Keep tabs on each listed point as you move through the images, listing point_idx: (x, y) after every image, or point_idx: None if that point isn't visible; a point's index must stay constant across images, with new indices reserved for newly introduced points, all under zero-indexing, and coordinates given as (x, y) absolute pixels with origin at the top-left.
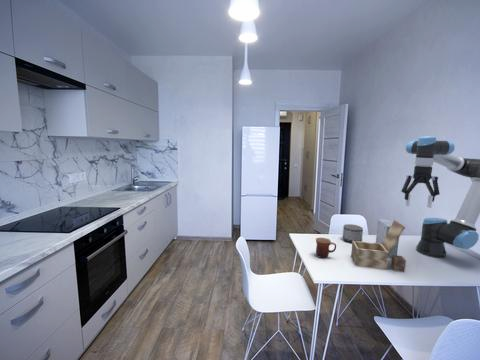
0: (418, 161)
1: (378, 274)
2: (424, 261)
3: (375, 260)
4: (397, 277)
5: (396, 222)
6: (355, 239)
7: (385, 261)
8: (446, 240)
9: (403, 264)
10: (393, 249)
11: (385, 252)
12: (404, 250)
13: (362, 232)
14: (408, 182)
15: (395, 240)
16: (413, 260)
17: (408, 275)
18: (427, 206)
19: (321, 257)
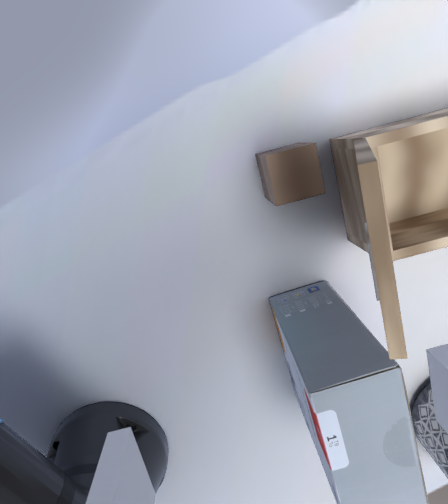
0: None
1: (373, 57)
2: (151, 330)
3: (400, 123)
4: (293, 73)
5: (398, 302)
6: None
7: (353, 136)
8: (30, 447)
9: (268, 153)
10: (297, 309)
11: (380, 133)
12: (220, 415)
13: (442, 441)
14: None
15: (367, 146)
16: (197, 315)
17: (242, 125)
18: (151, 488)
19: None
